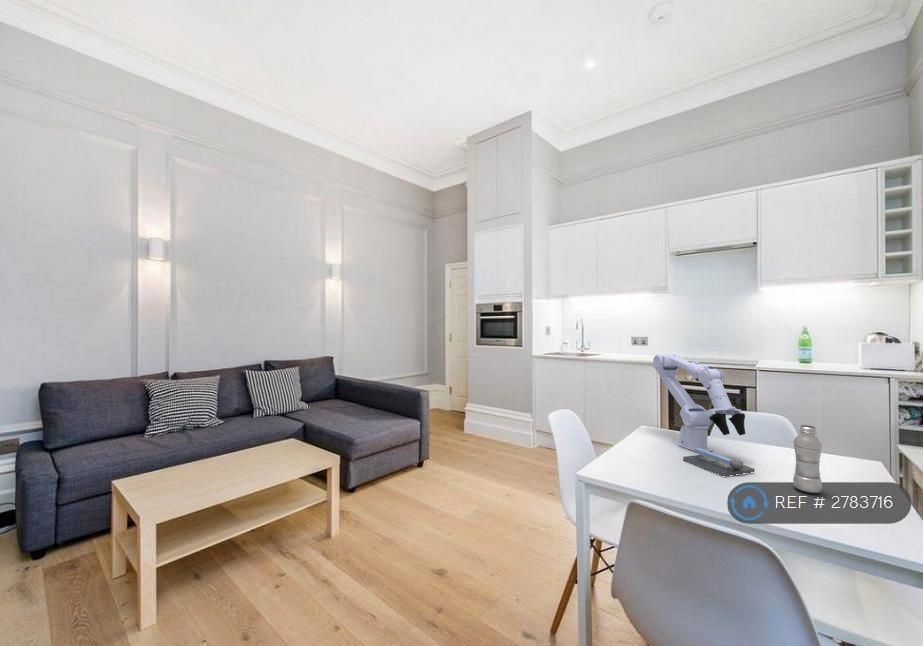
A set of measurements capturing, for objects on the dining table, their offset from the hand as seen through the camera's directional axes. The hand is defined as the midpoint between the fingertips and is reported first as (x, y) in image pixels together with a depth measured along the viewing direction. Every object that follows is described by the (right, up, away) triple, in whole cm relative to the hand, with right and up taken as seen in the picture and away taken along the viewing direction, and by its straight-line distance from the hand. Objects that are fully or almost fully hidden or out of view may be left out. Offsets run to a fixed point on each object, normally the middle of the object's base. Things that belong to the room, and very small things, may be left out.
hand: (734, 434), depth 138 cm
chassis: (-7, -11, -2) cm, 13 cm away
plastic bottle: (+7, -11, -21) cm, 25 cm away
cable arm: (-7, -9, -2) cm, 11 cm away
